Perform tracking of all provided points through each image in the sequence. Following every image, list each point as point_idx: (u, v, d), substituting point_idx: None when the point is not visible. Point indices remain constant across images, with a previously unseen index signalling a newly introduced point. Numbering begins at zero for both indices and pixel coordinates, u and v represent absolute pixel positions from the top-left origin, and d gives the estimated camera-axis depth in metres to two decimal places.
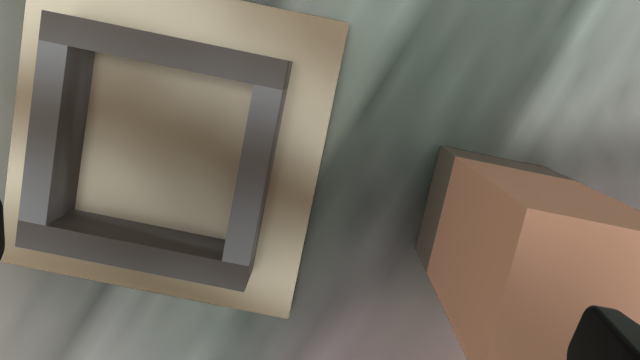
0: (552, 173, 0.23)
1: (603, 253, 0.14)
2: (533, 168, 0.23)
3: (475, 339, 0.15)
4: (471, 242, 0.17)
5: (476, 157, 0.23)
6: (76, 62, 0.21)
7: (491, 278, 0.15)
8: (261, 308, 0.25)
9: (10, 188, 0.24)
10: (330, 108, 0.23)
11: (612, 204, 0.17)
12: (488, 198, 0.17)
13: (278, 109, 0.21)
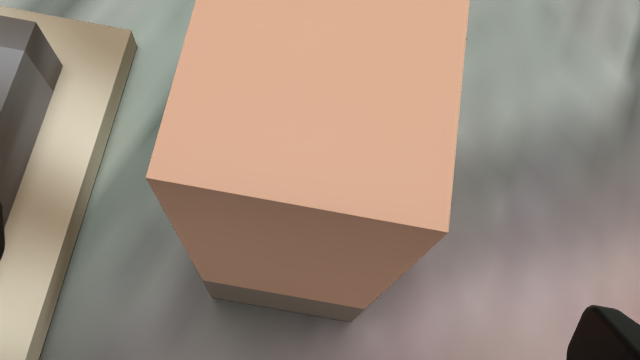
0: None
1: None
2: None
3: None
4: None
5: None
6: None
7: None
8: None
9: None
10: (102, 113, 0.20)
11: None
12: None
13: (17, 72, 0.17)
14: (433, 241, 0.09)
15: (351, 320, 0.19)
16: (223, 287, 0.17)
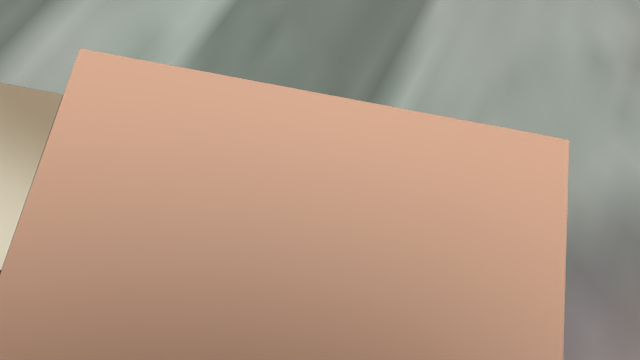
0: None
1: (285, 158, 0.05)
2: None
3: None
4: None
5: None
6: None
7: None
8: None
9: None
10: (19, 209, 0.15)
11: None
12: None
13: None
14: None
15: None
16: None
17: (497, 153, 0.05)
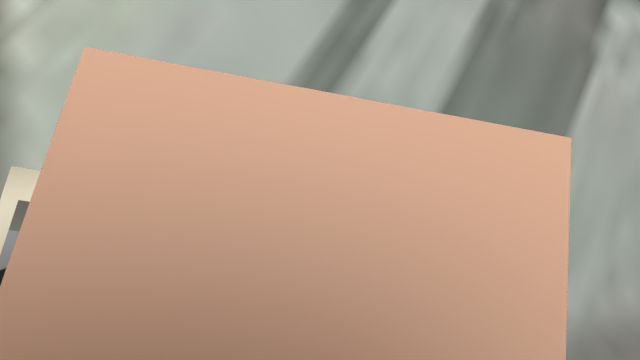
0: None
1: (288, 155, 0.05)
2: None
3: None
4: None
5: None
6: None
7: None
8: None
9: None
10: None
11: None
12: None
13: None
14: None
15: None
16: None
17: (501, 151, 0.05)
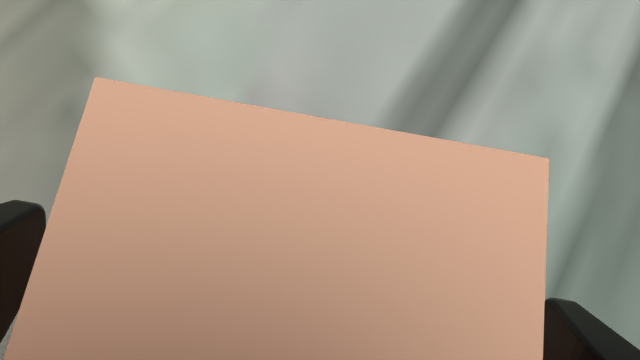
0: None
1: (286, 178, 0.06)
2: None
3: None
4: None
5: None
6: None
7: None
8: None
9: None
10: None
11: None
12: None
13: None
14: None
15: None
16: None
17: (483, 172, 0.06)
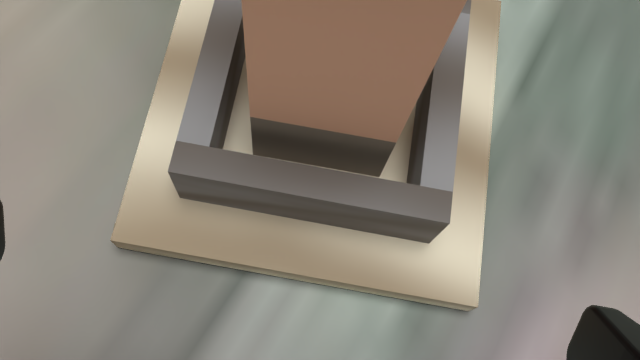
0: None
1: None
2: None
3: None
4: None
5: None
6: None
7: None
8: (443, 293, 0.20)
9: (142, 152, 0.20)
10: (494, 72, 0.22)
11: None
12: None
13: (467, 32, 0.20)
14: None
15: (380, 172, 0.20)
16: (267, 128, 0.18)
17: None
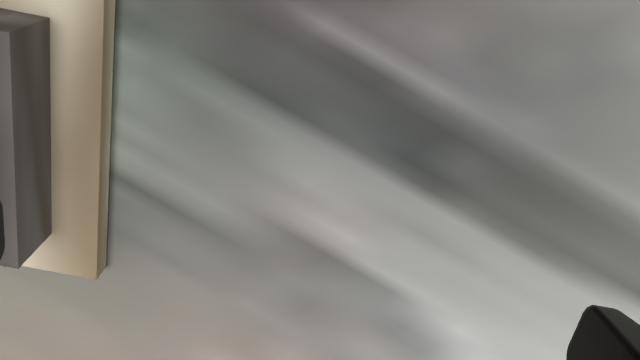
0: None
1: None
2: None
3: None
4: None
5: None
6: None
7: None
8: (96, 7, 0.20)
9: None
10: None
11: None
12: None
13: None
14: None
15: None
16: None
17: None
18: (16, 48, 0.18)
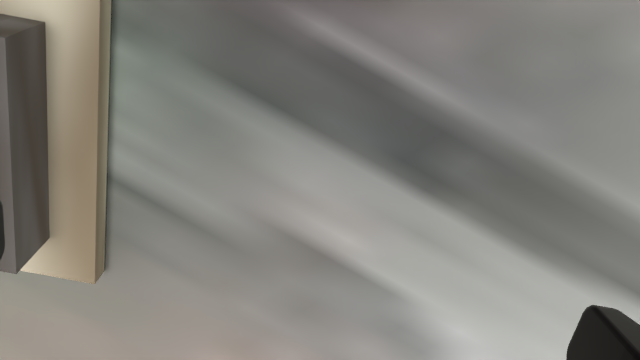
0: None
1: None
2: None
3: None
4: None
5: None
6: None
7: None
8: (92, 11, 0.20)
9: None
10: None
11: None
12: None
13: None
14: None
15: None
16: None
17: None
18: (12, 53, 0.18)
